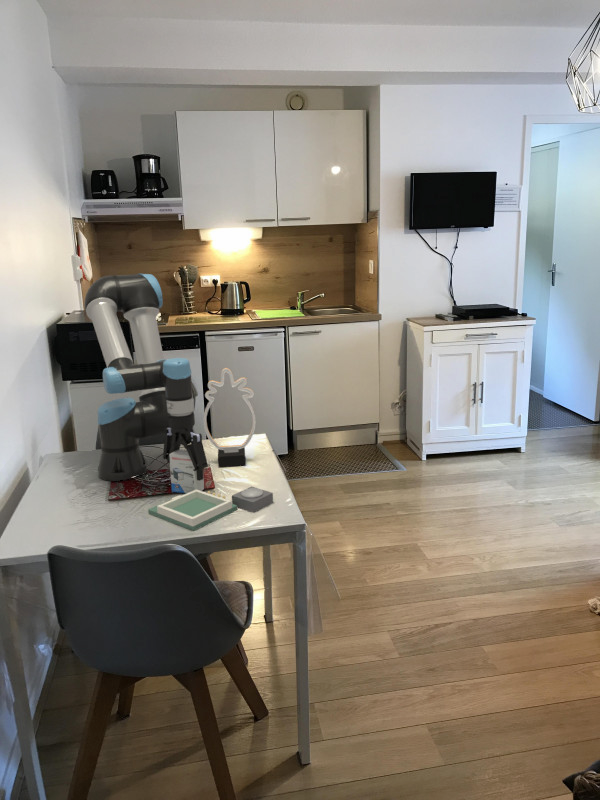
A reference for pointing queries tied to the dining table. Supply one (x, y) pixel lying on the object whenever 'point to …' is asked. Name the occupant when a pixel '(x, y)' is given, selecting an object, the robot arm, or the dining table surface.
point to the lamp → (234, 453)
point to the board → (193, 509)
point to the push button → (252, 499)
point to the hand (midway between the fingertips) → (187, 486)
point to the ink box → (182, 472)
